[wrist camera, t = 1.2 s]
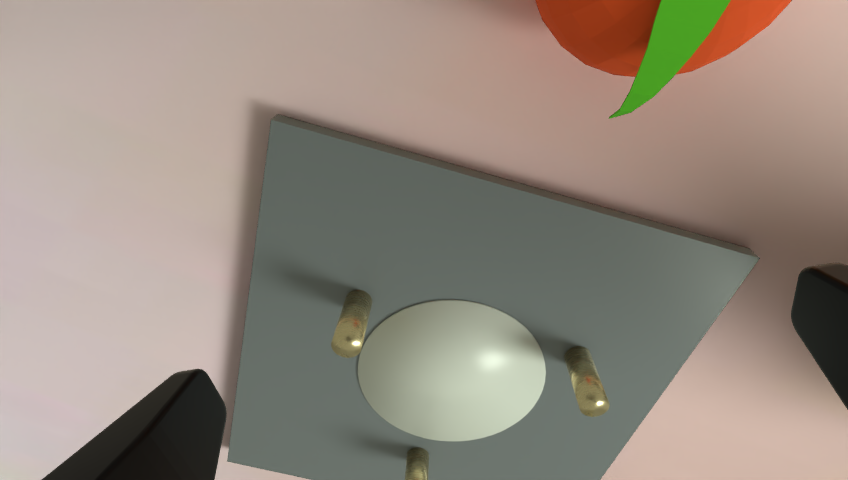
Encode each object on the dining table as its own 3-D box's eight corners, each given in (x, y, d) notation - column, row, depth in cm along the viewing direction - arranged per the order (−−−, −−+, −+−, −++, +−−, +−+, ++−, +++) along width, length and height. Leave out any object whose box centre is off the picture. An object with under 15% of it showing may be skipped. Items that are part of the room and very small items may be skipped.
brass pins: (594, 349, 22) (614, 399, 20) (515, 484, 27) (522, 539, 24) (348, 286, 21) (334, 330, 19) (310, 438, 26) (295, 490, 23)
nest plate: (749, 248, 20) (761, 259, 20) (558, 520, 30) (561, 535, 29) (277, 114, 19) (270, 120, 18) (232, 449, 28) (226, 462, 27)
